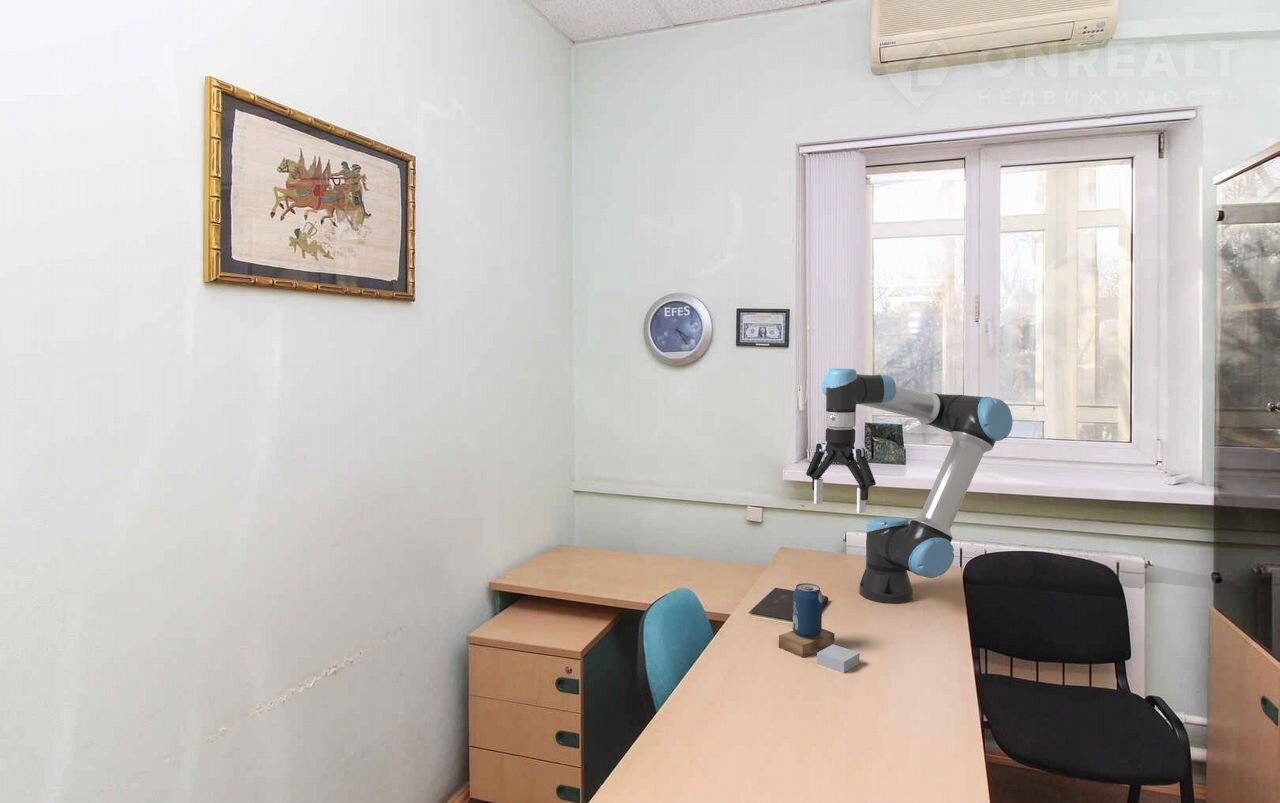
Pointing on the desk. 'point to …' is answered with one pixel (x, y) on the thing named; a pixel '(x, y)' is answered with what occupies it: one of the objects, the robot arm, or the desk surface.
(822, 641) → the walnut block
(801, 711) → the desk surface
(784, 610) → the hardcover book
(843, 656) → the slate block
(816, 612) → the soda can
